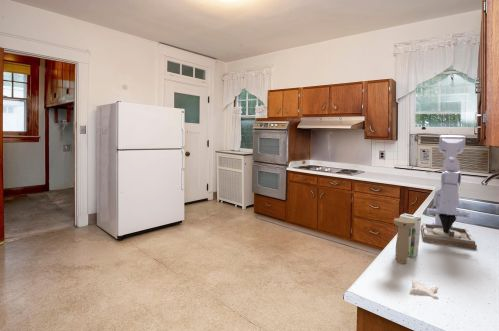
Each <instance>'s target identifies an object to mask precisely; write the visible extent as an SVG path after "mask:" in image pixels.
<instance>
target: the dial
mask: <svg viewBox="0 0 499 331" xmlns="http://www.w3.org/2000/svg"><path fill="white" fill-rule="evenodd" d="M433 233H434V234H436V235H439V236H446V237H448V236H450V237H453V238H460V237H461V233H459V232H457V231H455V230H451V228H450V229H449V232H448V233H444V232H443V228H434V229H433Z"/></svg>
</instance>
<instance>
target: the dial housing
mask: <svg viewBox="0 0 499 331" xmlns="http://www.w3.org/2000/svg"><path fill="white" fill-rule="evenodd" d="M434 228H443V226H441V225H434V223H427V222H426V223H425V222H423V223H422V225H421V224H420V231H421V232H420V233H421V237H422V241H424V242H427V243H429V242H430V243H436V244H442V245H448V246H454V247H461V248H467V249H473V250H477V248H478V246H477V243H476V240H475V239H474V237H473V236H472V234H471V233H470V232H469V229H467V228H461V227H455V226H454V227H450V228H451V230H455V231H457V232H459V233H461V237H460V238H453V237H450V236H448V237H446V236H439V235H436V234H434V233H433V229H434Z"/></svg>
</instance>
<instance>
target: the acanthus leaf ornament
mask: <svg viewBox="0 0 499 331" xmlns="http://www.w3.org/2000/svg"><path fill="white" fill-rule="evenodd" d="M438 290H439V287H438V286H435V285H431V286H428V284H426V283H425V282H421V281H420V280H417V279H413V280H412V288H411V289H410V291H409V294H415V295H416V294H418V295H425V296H429V297H431V298H433V299H435V300H439V299H440V298H439V296H438V295H436V294H435V293H437V292H438Z"/></svg>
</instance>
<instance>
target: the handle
mask: <svg viewBox="0 0 499 331" xmlns="http://www.w3.org/2000/svg"><path fill="white" fill-rule="evenodd" d="M393 224H394V225H395V226H397V235H396V241H395V242H396V243H395V261H396V263H398V264H401V265H405V264H407V262H408V260H407V259H408V257H409V256H408V252H409V229H410V228H411V227H414V226H415V221H413V220H409V219H402V218H399V217H396V218H393Z"/></svg>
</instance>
